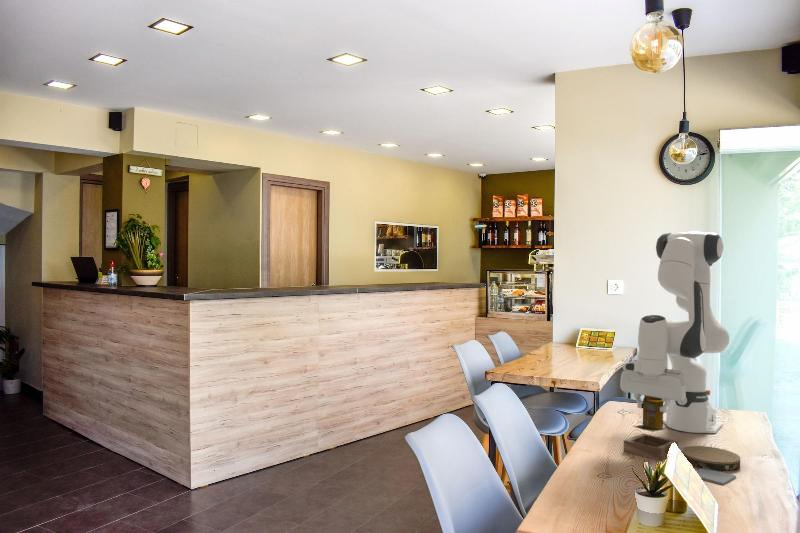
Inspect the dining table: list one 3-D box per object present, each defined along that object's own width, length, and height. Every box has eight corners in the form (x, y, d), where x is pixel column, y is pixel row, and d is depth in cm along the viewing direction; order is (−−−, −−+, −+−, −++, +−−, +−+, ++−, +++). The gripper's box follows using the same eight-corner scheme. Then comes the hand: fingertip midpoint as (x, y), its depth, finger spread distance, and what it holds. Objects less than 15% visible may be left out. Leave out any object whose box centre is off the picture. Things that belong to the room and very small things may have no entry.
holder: (643, 444, 208) (643, 433, 208) (677, 452, 200) (677, 441, 199) (623, 451, 200) (623, 440, 200) (659, 460, 191) (659, 449, 191)
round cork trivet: (735, 459, 195) (735, 449, 195) (744, 475, 180) (745, 465, 180) (679, 453, 200) (680, 443, 200) (684, 468, 185) (684, 458, 185)
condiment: (668, 429, 199) (669, 391, 199) (653, 432, 194) (653, 393, 195) (648, 424, 205) (649, 387, 205) (632, 427, 200) (633, 389, 201)
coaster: (703, 469, 184) (703, 467, 184) (735, 477, 177) (736, 475, 177) (689, 476, 178) (689, 474, 178) (722, 485, 171) (723, 482, 171)
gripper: (689, 370, 194) (689, 414, 194) (627, 361, 209) (627, 402, 209) (680, 372, 190) (679, 418, 190) (618, 363, 205) (617, 405, 205)
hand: (651, 410), depth 200 cm, fingers closed on condiment, 6 cm apart
